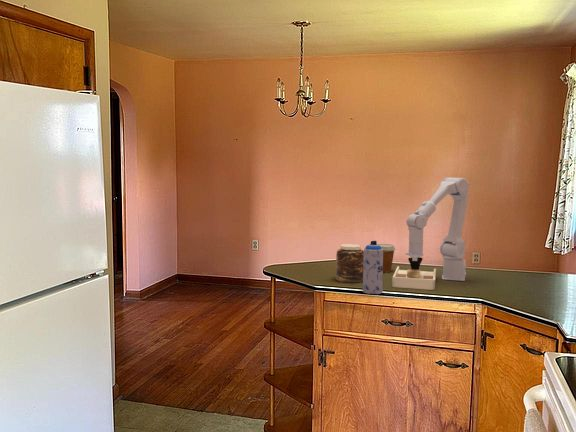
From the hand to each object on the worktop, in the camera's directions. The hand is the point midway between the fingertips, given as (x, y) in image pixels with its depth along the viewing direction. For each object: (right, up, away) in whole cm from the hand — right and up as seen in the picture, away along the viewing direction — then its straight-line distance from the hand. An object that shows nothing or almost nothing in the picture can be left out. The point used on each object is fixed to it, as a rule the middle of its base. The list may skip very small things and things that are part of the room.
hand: (415, 275), depth 223 cm
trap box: (0, -3, +2) cm, 4 cm away
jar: (-27, -3, +6) cm, 27 cm away
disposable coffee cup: (-8, -1, +25) cm, 27 cm away
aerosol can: (-20, -5, -15) cm, 25 cm away
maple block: (-2, -2, -6) cm, 6 cm away
